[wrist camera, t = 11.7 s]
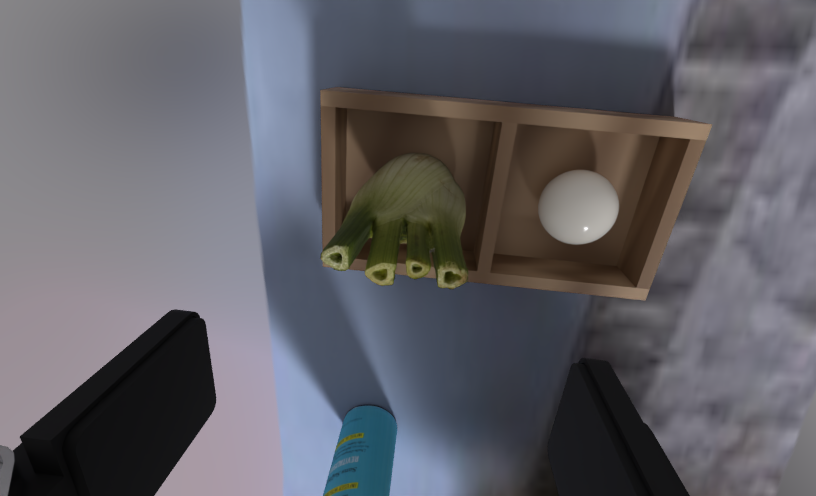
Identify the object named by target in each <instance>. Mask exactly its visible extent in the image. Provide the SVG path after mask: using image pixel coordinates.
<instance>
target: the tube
mask: <svg viewBox="0 0 816 496" xmlns="http://www.w3.org/2000/svg"><path fill="white" fill-rule="evenodd" d="M396 435H397V424H396V421H395V419H394V418H393V416H392V415H391V414H390V413H389V412H387V411H386V410H384V409H382V408H380V407H377V406H359V407H355V408H353V409H352V410H351V411H349V412H348V413H347V415H346V416H345V418H344V421H343V425H342V428H341V432H340V436H339V439H338V443H337V446H336V450H335V454H334V457H333V461H332V465H331V468H330V472H329V476H328V479H327V483H326V487H325V490H324V494H323V496H389V493H390V485H391V476H392V468H393V459H394V452H395V444H396Z"/></svg>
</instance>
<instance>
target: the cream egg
mask: <svg viewBox="0 0 816 496" xmlns="http://www.w3.org/2000/svg"><path fill="white" fill-rule="evenodd" d="M618 212H619V200H618V195H617V193H616V191H615V189H614V187H613V185H612V184H611V183H610V182H609V181H608V180H607V179H606V178H605V177H603V176H602V175H600V174H598V173H596V172H593V171H589V170H572V171H568V172H565V173H562V174H560V175H558V176H557V177H555V178H554V179H552V180H551V181H550V182H549V183H548V184H547V185H546V187H545V188H544V190H543V191H542V193H541V196H540V199H539V203H538V214H539V219H540V221H541V223H542V226H543V227H544V229H545V230H546V231H547V232H548V233H549V234H550V235H551V236H552V237H554V238H555V239H557V240H559V241H561V242H564V243H567V244H574V245H579V244H586V243H590V242H593V241H595V240H598V239H599V238H601V237H602V236H604V235H605V234H606V233H607V232H608V231H609V230H610V229H611V228H612V226H613V225H614V223H615V221H616V219H617V216H618Z"/></svg>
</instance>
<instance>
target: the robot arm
mask: <svg viewBox="0 0 816 496" xmlns="http://www.w3.org/2000/svg"><path fill="white" fill-rule="evenodd" d="M215 404H216V393H215V386H214V379H213V372H212V365H211V359H210V352H209V345H208V337H207V331H206V324H205V321H204V320H203V319H202V318H200V316H199V315H198V313H196V312H191V311H183V310H171V311H169V312H168V313H167V314H166V315H165V316H163V317H162V318H161V319H160V320H158V321H157V322H156V323H155V324H154V325H153V326H151V327H150V328H149V329H148V330H146V331H145V332H144V333H143V334H142V335H140V336H139V337H138V338H137V339H136V340H135V341H134V342H132V343H131V344H130V345H129V346H127V347H126V348H125V349H124V350H123V351H122V352H120V353H119V354H118V355H117V356H115V357H114V358H113V359H112V360H111V361H109V362H108V363H107V364H106V365H105V366H104V367H102V368H101V369H100V370H99V371H97V372H96V373H95V374H94V375H93V376H92V377H90V378H89V379H88V380H87V381H86V382H84V383H83V384H82V385H81V386H80V387H78V388H77V389H76V390H75V391H74V392H72V393H71V394H70V395H69V396H68V397H66V398H65V399H64V400H63V401H62V402H60V403H59V404H58V405H57V406H56V407H55V408H53V409H52V410H51V411H50V412H49V413H47V414H46V415H45V416H44V417H43V418H41V419H40V420H39V421H38V422H37V423H35V424H34V425H33V426H32V427H31V428H30V429H28V430H27V431H26V432H25V433H24V434H23V435H21V436H20V438H21V441H22V443H21V444H20V445H19V446H18V447H17V448H15V449H14V450H13V451H12V450H11V449H9V448H8V447H6V446H1V445H0V496H154V495H155V494H156V492H157V491H158V489H159V488H160V487H161V485H162V484H163V482H164V481H165V479H166V478H167V477H168V475H169V474H170V472H171V471H172V469H173V468H174V467H175V465H176V464H177V462H178V461H179V459H180V458H181V457H182V455H183V454H184V452H185V451H186V450H187V448H188V447H189V445H190V444H191V442H192V441H193V440H194V438H195V437H196V435H197V434H198V432H199V431H200V430H201V428H202V427H203V425H204V424H205V422H206V421H207V420H208V418H209V417H210V415H211V414H212V412H213V410H214V408H215ZM548 456H549V460H550V464H551V468H552V471H553V475H554V479H555V482H556V486H557V490H558V493H559V496H690V495H689V494H688V492H687V490H686V489H685V487H684V485H683V483H682V482H681V480H680V478H679V477H678V475H677V473H676V472H675V470H674V468H673V466H672V465H671V463H670V461H669V460H668V458H667V456H666V454H665V453H664V451H663V449H662V448H661V446H660V444H659V442H658V441H657V439H656V437H655V436H654V434H653V432H652V431H651V429H650V428H649V427H648V425H646V424H645V423H643V421H642V419H641V417H640V416H639V414H638V412H637V410H636V409H635V407H634V405H633V404H632V402H631V400H630V398H629V397H628V395H627V393H626V391H625V390H624V388H623V386H622V384H621V383H620V381H619V379H618V377H617V376H616V374H615V372H614V371H613V369H612V367H611V365H610V364H609V363H608V362H607V361H603V360H594V359H586V358H582V359H581V360H580V361H579V363H578V364H577V363H574V364H572V366H571V368H570V372H569V375H568V378H567V382H566V385H565V388H564V392H563V395H562V398H561V402H560V405H559V408H558V412H557V415H556V418H555V422H554V425H553V428H552V432H551V435H550V438H549V442H548Z"/></svg>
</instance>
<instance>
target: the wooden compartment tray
mask: <svg viewBox="0 0 816 496" xmlns="http://www.w3.org/2000/svg"><path fill="white" fill-rule="evenodd" d="M320 92H321V170H322V247H323V249H324V248H325V247H326V245H327V244H328V243H329V242H330V241H331V239H332V238H333V237H334V236H335V234H336V233H337V231H338V230H339V229H340V227H341V225H342V223H343V221H344V219H345V217H346V215H347V214H348V211H349V210H350V206H351V203H352V201H353V199H354V197H355V195H356V194H357V192H358V191H359V190H360V189H361V187H362V186H363V185H364V184H365V183H366V182H367V181H368V180H369V179H370V178H371V177H372V176H373V175H374V174H375V173H376V172H377V171H378V170H379V169H380V168H381V167H383V166H384V165H385V164H386V163H388V162H389V161H390V160H392V159H393V158H395V157H397V156H399V155H402V154H407V153H425V154H428V155H431V156H433V157H435V158H437V159H439V160H440V161H442V162H443V163H444V164H445V165H446V166H447V167H448V169H449V171H450V172H451V174H452V176H453V178H454V179H455V181H456V182H457V184H458V185H459V186H460V188H461V190H462V191H463V193H464V198H465V205H466V217H465V223H464V226H463V229H462V232H461V235H460V241H461V248H462V253H463V256H464V261H465V263H466V267H467V268H468V273H469V275H468V281H467V282H474V283H484V284H493V285H503V286H512V287H522V288H531V289H541V290H551V291H560V292H570V293H579V294H589V295H598V296H608V297H617V298H627V299H636V300H646V297H647V295H648V292H649V289H650V287H651V284H652V281H653V279H654V276H655V274H656V271H657V268H658V266H659V263H660V261H661V258H662V255H663V253H664V250H665V247H666V245H667V242H668V240H669V237H670V234H671V232H672V229H673V226H674V224H675V221H676V219H677V216H678V213H679V211H680V208H681V205H682V203H683V200H684V198H685V195H686V192H687V190H688V187H689V184H690V182H691V179H692V177H693V174H694V171H695V169H696V166H697V163H698V161H699V158H700V156H701V153H702V150H703V148H704V145H705V142H706V140H707V137H708V135H709V132H710V129H711V127H712V124H707V123H702V122H697V121H693V120H688V119H683V118H678V117H672V116H660V115H649V114H638V113H626V112H615V111H603V110H592V109H581V108H569V107H558V106H547V105H535V104H524V103H513V102H501V101H490V100H479V99H467V98H456V97H444V96H433V95H422V94H410V93H399V92H388V91H376V90H365V89H354V88H342V87H334V88H329V89H323V90H320ZM572 170H589V171H593V172H596V173H598V174H600V175H602V176H603V177H605V178H606V179H607V180H608V181H609V182H610V183H611V184H612V185H613V187H614V189H615V191H616V193H617V195H618V200H619V212H618V216H617V219H616V221H615V223H614V225H613V226H612V228H611V229H610V230H609V231H608V232H607V233H606V234H605V235H604V236H602V237H601V238H599V239H598V240H595V241H593V242H590V243H586V244H579V245H574V244H567V243H564V242H561V241H559V240H557V239H555V238H554V237H552V236H551V235H550V234H549V233H548V232H547V231H546V230H545V229H544V227H543V226H542V223H541V221H540V219H539V214H538V203H539V199H540V196H541V193H542V191H543V190H544V188H545V187H546V185H547V184H548V183H549V182H550V181H551V180H552V179H554V178H555V177H557V176H558V175H560V174H562V173H565V172H568V171H572ZM371 241H372V238H369V239H368V240H367V242H366V243H365V244H364V246H363V247H362V249H361V251H360V252H359V254H358V256H357V257H356V259H355V260H354V261H353V263H352V264H351V266H350V268H349V269H350V270H360V271H365V268H366V263H367V260H368V256H369V252H370V247H371ZM406 256H407V243H401V244H400V247H399V253H398V259H397V267H396V270H395V274H398V275H407V272H406ZM430 259H431V269H430V271H429V272H428V274H427V275H426V276H424V277H427V278H436V273H435V268H434V264H433V257H432V253H430ZM323 267H330V266H329V265H326V264H325V263H324V262H323ZM331 268H332V267H331Z"/></svg>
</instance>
